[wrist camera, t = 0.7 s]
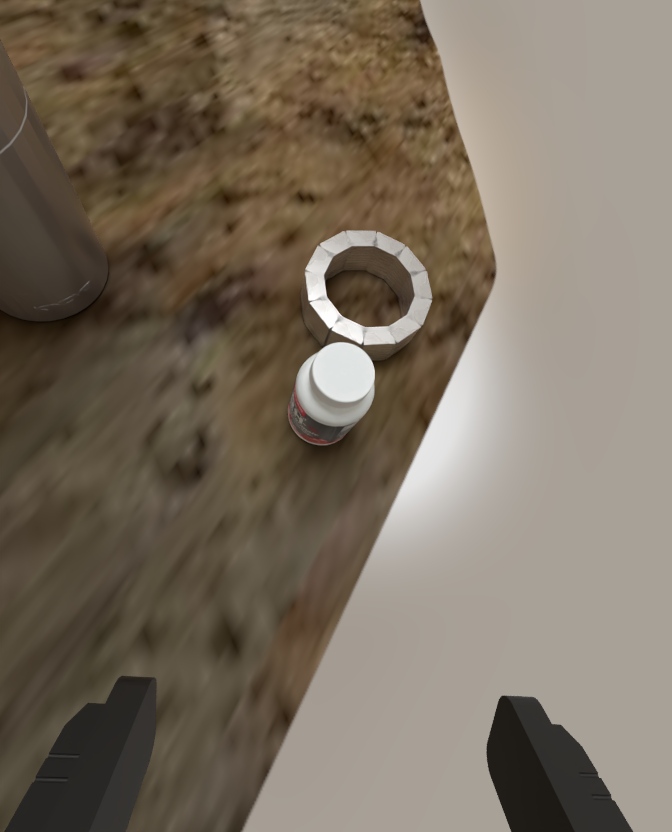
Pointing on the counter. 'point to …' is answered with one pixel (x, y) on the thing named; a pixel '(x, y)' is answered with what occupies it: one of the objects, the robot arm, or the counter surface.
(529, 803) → the robot arm
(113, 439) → the counter surface
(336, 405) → the pill bottle
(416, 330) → the ring collar
